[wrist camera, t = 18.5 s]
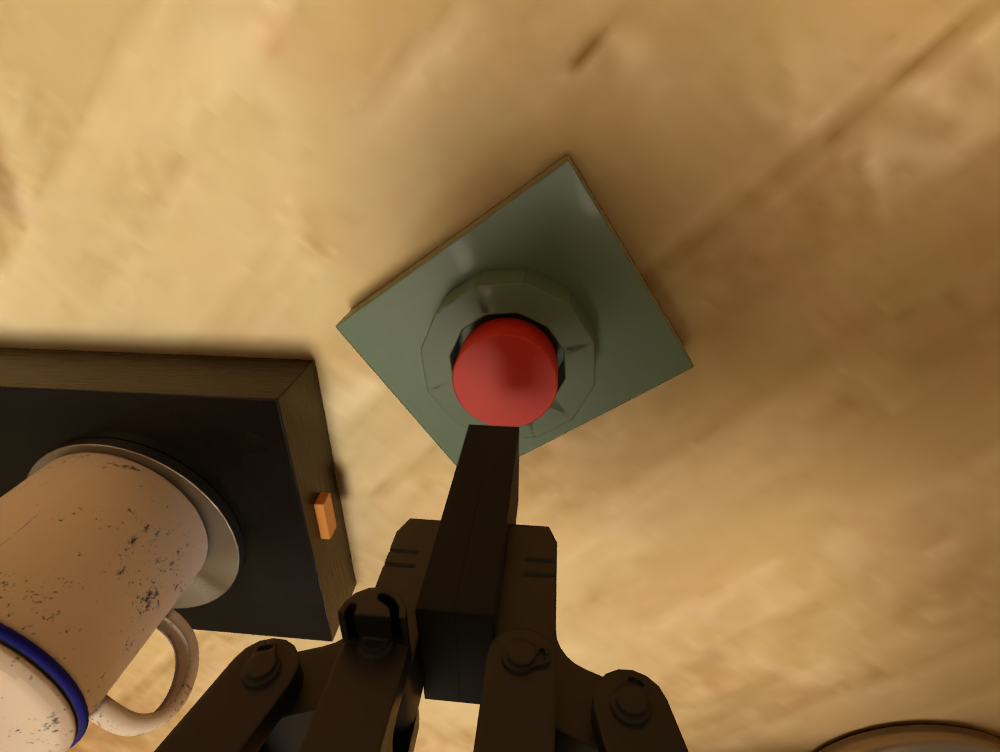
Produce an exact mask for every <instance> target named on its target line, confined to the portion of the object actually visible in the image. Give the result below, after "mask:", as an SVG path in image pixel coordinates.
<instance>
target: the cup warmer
mask: <svg viewBox="0 0 1000 752" xmlns="http://www.w3.org/2000/svg"><path fill="white" fill-rule="evenodd" d="M86 452H89V453H103V454H109V455H114V456H118V457H122V458H125V459H128V460H131V461H133V462H136V463H138V464H140V465H143V466H145V467H147V468H148V469H150V470H152V471H154V472H155V473H157V474H159V475H160V476H162V477H163V478H165V479H166V480H167V481H169V482H170V483H171V484H173V485H174V486H175V487H176V488H177V489H178V490H179V491H180V492H181V493H182V494H183V495H184V496H185V497H186V498H187V499H188V500H189V501H190V502H191V504H192V505H193V506H194V508H195V509H196V511H197V512H198V514H199V516H200V518H201V520H202V522H203V524H204V527H205V530H206V534H207V540H208V550H207V556H206V559H205V562H204V564H203V566H202V568H201V569H200V571H199V572H198V573H197V575H196V576H195V577H194V579H193V580H192V581H191V583H190V584H189V585H188V587H187V588H186V589H185V591H184V592H183V593H182V595H181V596H180V597H179V599H178V600H177V601H176V603H175V604H174V605H173V607H172V608H173V609H174V610H175V611H176V612H177V613H179V614H180V615H181V616H182V617H183V618H184V619H185V620H186V621H187V622H188V624H189V625H190V626H191V628H192V629H196V630H208V631H219V632H231V633H242V634H253V635H265V636H276V637H287V638H299V639H310V640H322V641H333V639H334V637H335V634H336V632H337V629H338V627H339V625H340V623H339V618H338V613H337V612H338V610H339V609H340V608H341V606H342V605H343V603H344V602H345V601H346V600H347V599H349V598H350V597H351V596H352V593H353V591H354V589H355V586H356V585H355V579H354V574H353V568H352V563H351V558H350V552H349V547H348V542H347V536H346V531H345V525H344V520H343V515H342V509H341V504H340V498H339V493H338V488H337V482H336V477H335V471H334V466H333V461H332V455H331V450H330V444H329V439H328V434H327V428H326V423H325V417H324V412H323V407H322V401H321V396H320V390H319V385H318V380H317V374H316V369H315V363H314V360H300V359H275V358H249V357H224V356H199V355H173V354H148V353H122V352H97V351H71V350H46V349H21V348H0V498H1V497H2V496H3V495H5V494H6V493H8V492H9V491H10V490H12V489H13V488H14V487H16V486H17V485H19V484H20V483H21V482H23V481H24V480H26V479H27V478H28V477H30V476H31V475H32V474H34V473H35V472H37V471H38V470H39V469H41V468H42V467H44V466H45V465H46V464H48V463H50V462H51V461H53V460H55V459H57V458H60V457H62V456H66V455H69V454H75V453H86Z"/></svg>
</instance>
